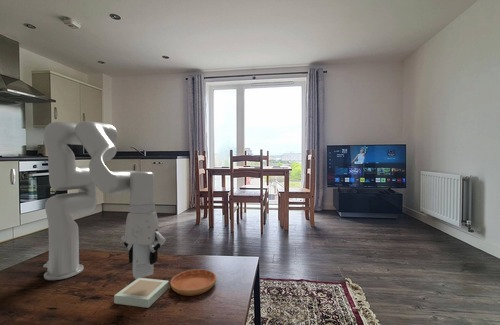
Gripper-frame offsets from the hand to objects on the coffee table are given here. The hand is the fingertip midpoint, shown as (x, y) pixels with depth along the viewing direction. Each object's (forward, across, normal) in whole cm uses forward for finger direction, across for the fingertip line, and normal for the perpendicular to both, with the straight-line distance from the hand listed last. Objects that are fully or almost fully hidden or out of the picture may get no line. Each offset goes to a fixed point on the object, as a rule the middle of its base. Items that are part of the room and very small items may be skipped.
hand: (143, 261), depth 82 cm
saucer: (+12, +14, +9) cm, 20 cm away
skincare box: (+4, 0, 0) cm, 4 cm away
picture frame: (+11, 0, 0) cm, 11 cm away
